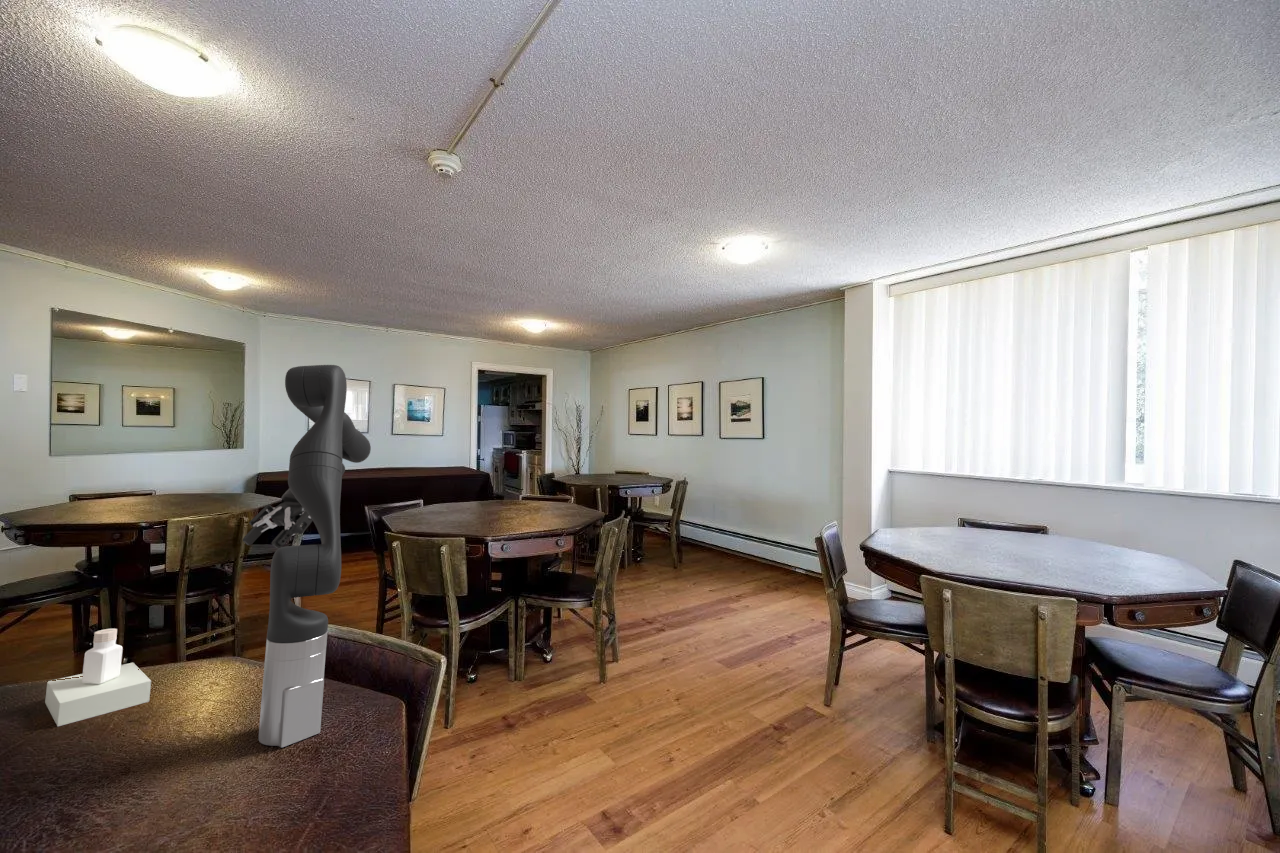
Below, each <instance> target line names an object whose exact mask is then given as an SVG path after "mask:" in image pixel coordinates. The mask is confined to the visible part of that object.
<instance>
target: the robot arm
mask: <svg viewBox="0 0 1280 853" xmlns="http://www.w3.org/2000/svg"><path fill="white" fill-rule="evenodd" d="M284 378H285V379H284V386H285V387H284V388H285V392H286V395H287V397H288V400H289V401H290V402H291V403H292V404H293V407H295V408H297V410H299V411H300V412H301V413H302V414H304V415H305V417H306V418H308V419H309V420H311V421H312V422H313V423H314V424H313V425H312V426H311V427H310V428H309V429H308V430H307V432H306V433H305V434H303V436H302V437H301V438H300V439H298V440H299V441H298V442H297V443H296V444H295V445H294V447H293V449H292V450H291V452H290V455H289V466H288V476H287V477H288V478H287V484H288V489H287V490H286V491H285V492H284V493H283V494H282V496H281V503H279V504H278V505H277V506H275V507H273V506H272V505H271V504H266V505H265V506H264V508H262V509H261V510H260V511H259V512H258V513H257V514H256V515H255V516H254V517H253V518H252V519H251V520H250V521H249V522H248V523H249V525H250V526H251V527H252V528H251V529H250V530H249V531H248V532H247V533H246V535H245V536H243V538H242V542H243V543H245V545H247V546H252V545H253V543H254V542H256V540H257V539H258V538H259V537H260V536H261V535H262V534H263V533H264V532H265V531H267V530H269V529H274V528H276V527H278V526H279V527H281V526H284V529H282V530H281V531H280V532H279V533H278V534H277V535H276V537H275V538H274V539H273V540H272V542H271V545H272V546H273V547H274V548H276V550H275V551H274V554H273V556H272V560H271V563H270V573H269V574H270V575H269V579H270V580H269V581H270V582H269V584H270V585H269V613H268V624H267V631H266V632H267V633H266V643H265V655H264V664H263V665H264V668H263V677H262V690H261V702H260V713H259V714H260V716H259V717H260V718H259V726H258V727H259V728H258V729H259V730H258V738H257V739H258V741H259V743H260V744H262V745H265V746H271V747H273V746H275V747H276V746H277V747H279V748H284V747H285V748H286V747H287V746H289V745H292V744H295V743H298V742H300V741H303V740H305V739H308V738H310V737H312V736H315V735H317V734H320V733H321V727H322V712H323V700H324V699H323V698H324V689H325V688H324V685H325V668H326V666H325V665H326V654H327V643H328V641H327V640H328V628H329V618H328V615H326V613H323V612H320V611H317V610H313V609H308V608H303V607H301V606H299V605H297V604H295V603H294V602H292V600H291V599H293V598H296V599H297V598H305V597H314V596H323V595H329V594H333V593H334V592H336V591H337V590H338V587H339V585H340V583H341V577H342V547H341V546H342V544H341V542H342V541H341V540H342V539H341V515H340V514H341V497H342V494H341V493H342V484H343V483H342V480H343V475H344V473H345V472H346V467H345V464H344V463H343V460H345V461H348V462H351V463H354V464H355V463H362V462H364V461H365V460H367V458H369V456H370V454H371V442H370V441H369V439H368V438H367V437H366V436H365V435H364V434H363V433H362V432H361V431H360V430H358V429H357V428H356V427H355V425H354V423H353V421H352V418H351V417H350V416H349V414H347V413H346V412H345V410H346V409H345V408H346V403H347V402H346V400H347V377H346V373H345V371H344V369H343V368H342V367H341V366H339V365H335V364H315V365H299V366H294V367H291V368H289V369H288V370H287V371H286V373H285V377H284ZM270 519H271V520H270ZM312 522H313V523H314V525H315V528H316V529H317V532H318V535H319V538H320V541H321V544H319V543H318V544H304V545H303V544H301V545H287V546H284V545H285V544H286V543H287V541H288V540H289V539H290V538H291V537H292V536H295V535H296V534H298V535H302V534H303V533H304V532H305V531H306V530H307V529H308V527H310V525H311V524H312Z"/></svg>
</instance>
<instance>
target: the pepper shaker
mask: <svg viewBox="0 0 1280 853" xmlns="http://www.w3.org/2000/svg"><path fill="white" fill-rule="evenodd" d="M93 635H94V636H93V641H92V643H93V647H92V648H90V649H88V650H86V651H85V653H84V658H83V666H82V674H83V675H82V676H83V677H82V682H83V683H88V684H101V683H104V682H106V681H109V680H111V679H114V678H116V677H118V676H119V675H120V669H121V665H122V659H123V650H124V649H123V646H122V645H121V644H117V638H118V637H117V635H118V628H115V627H114V628H106V629H101V630H97V631H94V633H93Z"/></svg>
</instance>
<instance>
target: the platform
mask: <svg viewBox="0 0 1280 853" xmlns="http://www.w3.org/2000/svg"><path fill="white" fill-rule="evenodd" d="M138 669H139V670H138ZM82 675H83V673H80V674H79V673H78V674H75V675H74V674H73V675H71V676H64V677H61V678H60V679H65V678H71V679H65V680H57V679H58V678H57V679H55V680H56V681H52V680H48V682H47V681H46V682H47V683H46V691H45V692H46V693H45V699H44V703H45V705H46V708H47V709H48V711H49V713H50V715H51V717H52V719H53V720H54V723H55V724H56V727H61V726H65V725H68V724H73V723H75V722H79V721H83V720H88V719H91V718H94V717H98V716H101V715H105V714H109V713H112V712H116V711H120V710H123V709H127V708H131V707H134V706H138V705H141V704H144V703H149V702H150V698H151V697H150V696H151V687H152V686H151V685H152V680H151V679H150V678H149V677H148V676H147V674H145V673H144V672H143V671H142V670H141V669H140V668H139V667H138V666H137V665H136V664H135V662H130V663H124V664H121V669H120V675H119V676H118V677H116V678H114V679H111V680H109V681H106V682H104V683H101V684H88V683H83V682H82V677H80V676H82ZM72 677H79V678H72Z"/></svg>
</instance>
